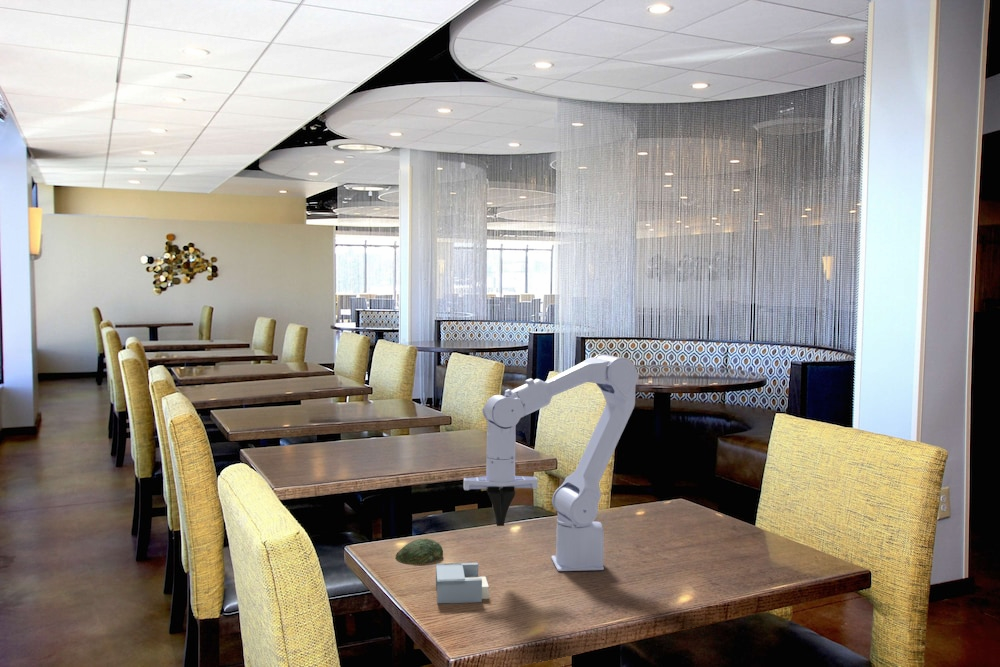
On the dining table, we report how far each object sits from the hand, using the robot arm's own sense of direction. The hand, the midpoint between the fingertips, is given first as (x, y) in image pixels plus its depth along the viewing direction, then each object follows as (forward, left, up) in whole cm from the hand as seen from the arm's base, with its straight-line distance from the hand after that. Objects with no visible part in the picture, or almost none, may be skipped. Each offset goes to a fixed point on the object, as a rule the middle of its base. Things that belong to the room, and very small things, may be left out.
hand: (499, 524), depth 153 cm
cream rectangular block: (+7, +10, -10) cm, 16 cm away
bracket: (+9, +9, -10) cm, 16 cm away
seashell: (+16, -11, -10) cm, 22 cm away
